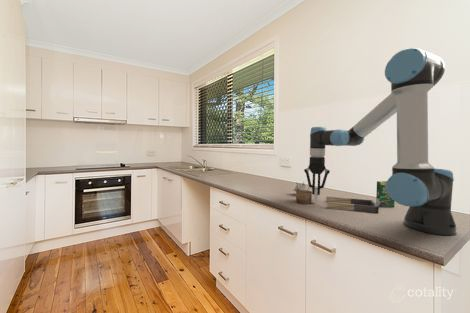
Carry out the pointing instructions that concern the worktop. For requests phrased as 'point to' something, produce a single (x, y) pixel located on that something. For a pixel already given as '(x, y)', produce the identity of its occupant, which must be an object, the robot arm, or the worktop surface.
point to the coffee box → (383, 195)
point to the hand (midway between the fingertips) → (315, 200)
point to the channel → (352, 204)
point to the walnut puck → (303, 196)
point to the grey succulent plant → (301, 187)
